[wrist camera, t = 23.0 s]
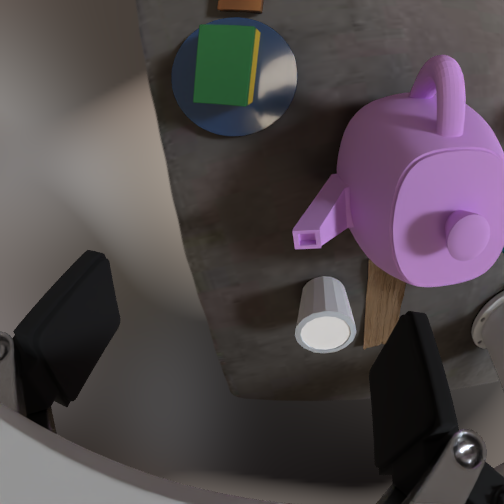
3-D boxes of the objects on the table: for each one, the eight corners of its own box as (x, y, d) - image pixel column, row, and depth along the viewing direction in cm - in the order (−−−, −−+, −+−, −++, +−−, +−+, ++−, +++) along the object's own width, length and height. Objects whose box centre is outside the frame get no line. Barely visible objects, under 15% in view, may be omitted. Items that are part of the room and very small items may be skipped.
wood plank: (396, 349, 41) (364, 354, 42) (393, 339, 43) (361, 344, 43) (412, 263, 33) (372, 269, 34) (406, 253, 35) (367, 258, 35)
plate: (304, 25, 23) (304, 23, 22) (288, 141, 30) (288, 144, 29) (180, 19, 24) (176, 17, 23) (172, 129, 31) (168, 131, 30)
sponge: (260, 32, 23) (254, 26, 20) (252, 102, 27) (245, 107, 24) (211, 29, 24) (199, 24, 20) (205, 98, 27) (192, 102, 24)
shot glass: (359, 280, 37) (367, 320, 32) (337, 318, 41) (340, 358, 35) (307, 265, 37) (307, 305, 31) (289, 306, 41) (286, 346, 35)
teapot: (271, 72, 26) (246, 72, 14) (462, 58, 22) (559, 69, 9) (308, 248, 36) (308, 351, 24) (467, 227, 31) (527, 312, 19)
